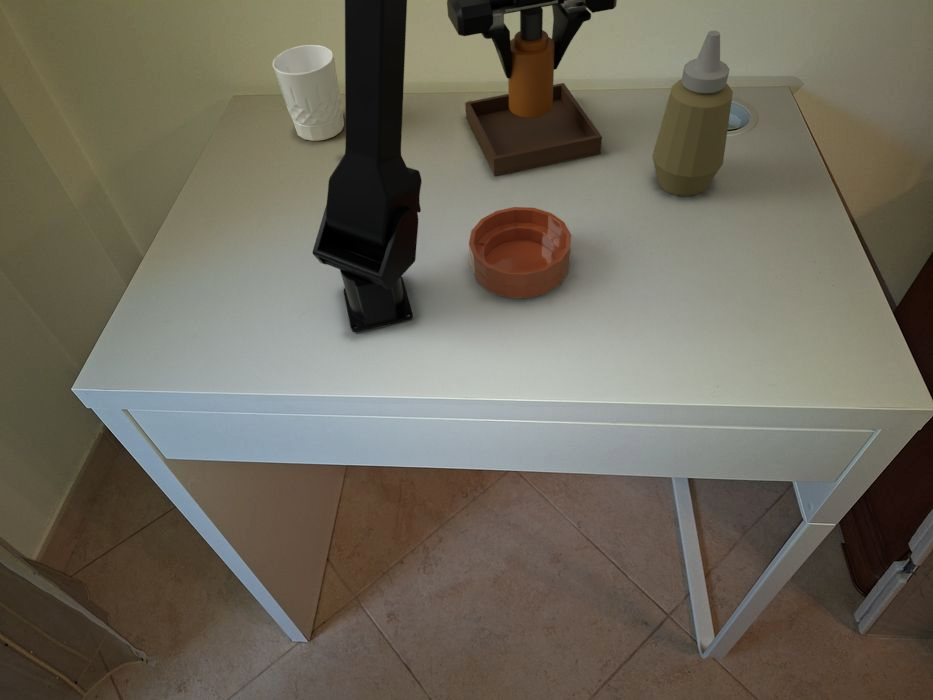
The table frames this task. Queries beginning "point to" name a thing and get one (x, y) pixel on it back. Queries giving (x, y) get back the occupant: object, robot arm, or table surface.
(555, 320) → the table surface
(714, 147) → the squeeze bottle
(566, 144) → the tray
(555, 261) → the bowl
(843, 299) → the table surface
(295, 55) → the white cup
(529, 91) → the bottle
